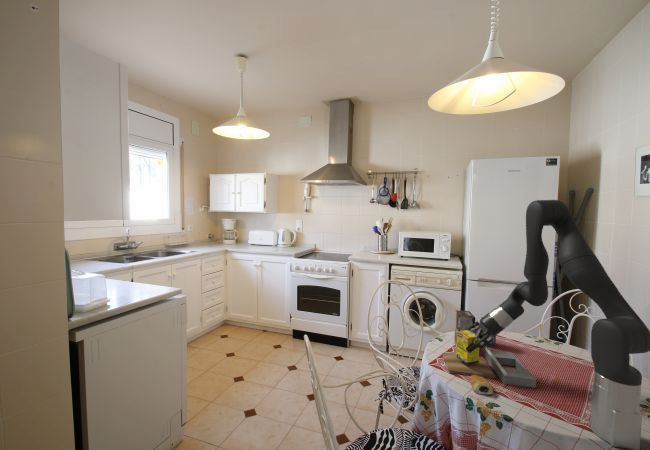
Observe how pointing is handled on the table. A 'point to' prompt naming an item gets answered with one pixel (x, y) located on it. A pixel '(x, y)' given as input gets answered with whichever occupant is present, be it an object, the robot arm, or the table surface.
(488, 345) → the soda can
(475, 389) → the pastry
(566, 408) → the table surface
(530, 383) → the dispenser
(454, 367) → the tan flat board
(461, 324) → the coffee box
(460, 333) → the supplement box
